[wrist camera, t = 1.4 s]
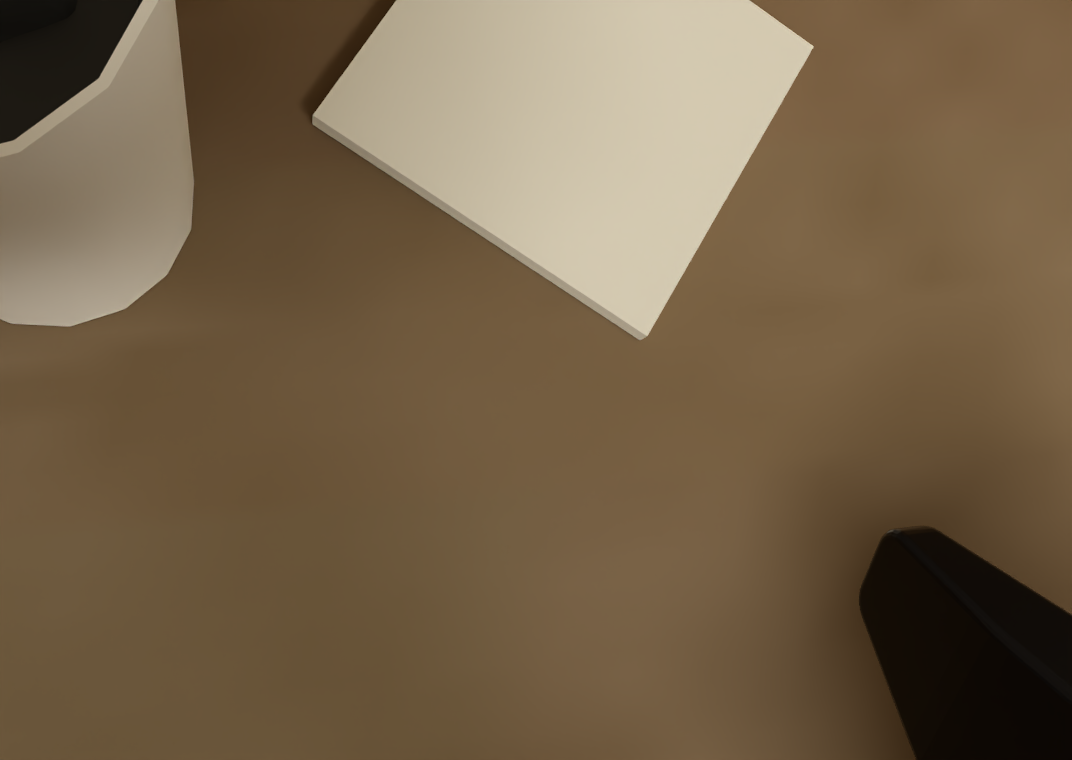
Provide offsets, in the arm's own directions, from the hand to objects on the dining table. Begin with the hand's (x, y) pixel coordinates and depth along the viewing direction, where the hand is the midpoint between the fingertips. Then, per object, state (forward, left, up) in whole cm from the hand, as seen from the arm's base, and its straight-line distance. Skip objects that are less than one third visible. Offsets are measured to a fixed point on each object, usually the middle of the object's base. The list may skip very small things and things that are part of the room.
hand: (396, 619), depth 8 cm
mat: (+13, +1, -14) cm, 19 cm away
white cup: (+4, +9, -14) cm, 17 cm away
